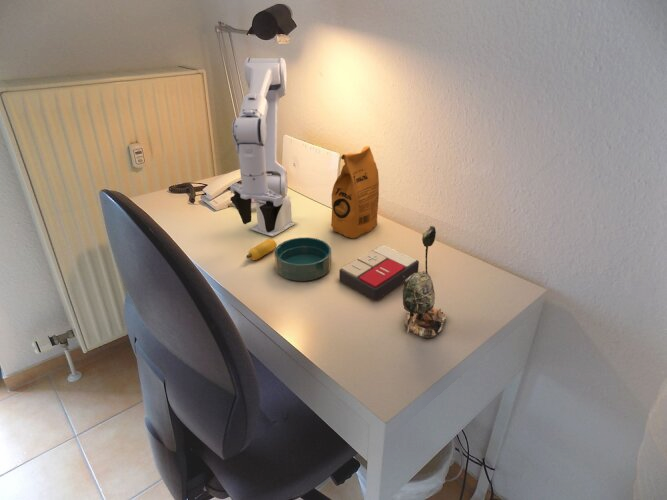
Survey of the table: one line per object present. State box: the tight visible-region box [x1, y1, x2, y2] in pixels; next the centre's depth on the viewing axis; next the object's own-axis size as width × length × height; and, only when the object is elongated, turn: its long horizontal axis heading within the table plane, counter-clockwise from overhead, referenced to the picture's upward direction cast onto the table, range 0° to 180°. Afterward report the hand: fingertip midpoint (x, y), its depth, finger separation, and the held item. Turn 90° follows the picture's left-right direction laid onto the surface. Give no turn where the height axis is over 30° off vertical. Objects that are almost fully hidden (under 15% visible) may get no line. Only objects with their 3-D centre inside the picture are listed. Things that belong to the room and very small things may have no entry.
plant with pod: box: [402, 225, 447, 339], centre depth 79 cm, size 8×11×20 cm
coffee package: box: [330, 145, 380, 239], centre depth 115 cm, size 10×12×22 cm
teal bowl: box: [274, 236, 332, 282], centre depth 101 cm, size 13×13×4 cm
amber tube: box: [246, 238, 277, 261], centre depth 107 cm, size 10×3×3 cm, turn 145°
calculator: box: [338, 244, 420, 302], centre depth 97 cm, size 11×4×15 cm
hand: (258, 226), depth 103 cm, fingers open, 7 cm apart
